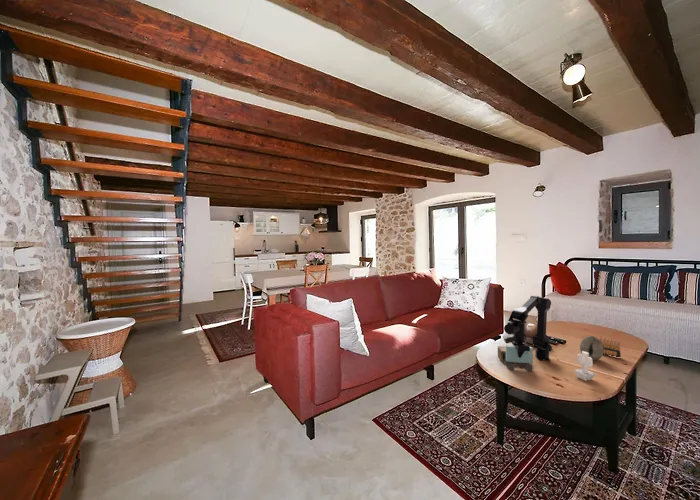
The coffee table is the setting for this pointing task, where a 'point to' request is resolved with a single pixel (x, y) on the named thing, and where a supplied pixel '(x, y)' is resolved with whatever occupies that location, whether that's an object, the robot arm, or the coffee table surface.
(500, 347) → the brown legged block
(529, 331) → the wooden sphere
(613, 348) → the ammunition clip
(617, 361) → the coffee table surface
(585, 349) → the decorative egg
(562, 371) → the coffee table surface
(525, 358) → the door
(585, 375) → the figurine
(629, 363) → the coffee table surface
